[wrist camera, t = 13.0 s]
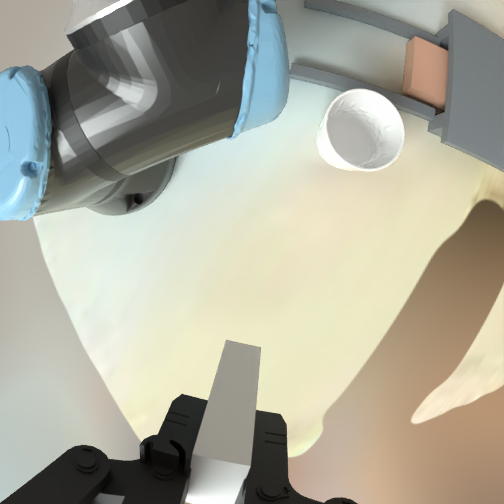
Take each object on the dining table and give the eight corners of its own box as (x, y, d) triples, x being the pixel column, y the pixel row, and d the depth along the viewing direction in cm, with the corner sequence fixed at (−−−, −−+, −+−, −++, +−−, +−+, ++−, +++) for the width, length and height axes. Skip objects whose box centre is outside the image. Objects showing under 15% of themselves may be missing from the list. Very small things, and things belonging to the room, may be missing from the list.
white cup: (316, 104, 35) (331, 79, 25) (377, 120, 35) (409, 102, 25) (305, 166, 37) (317, 159, 27) (368, 180, 36) (398, 180, 27)
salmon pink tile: (401, 92, 34) (410, 86, 31) (406, 43, 32) (415, 35, 29) (483, 129, 33) (495, 127, 30) (485, 82, 32) (496, 78, 29)
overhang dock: (283, 103, 35) (285, 89, 30) (309, -18, 31) (313, -41, 25) (490, 174, 35) (514, 174, 29) (496, 58, 30) (517, 48, 25)
